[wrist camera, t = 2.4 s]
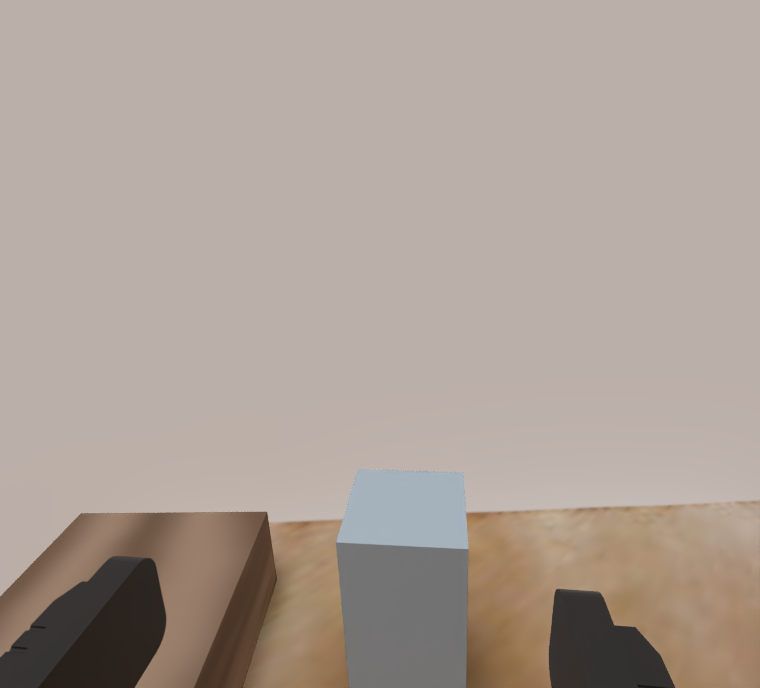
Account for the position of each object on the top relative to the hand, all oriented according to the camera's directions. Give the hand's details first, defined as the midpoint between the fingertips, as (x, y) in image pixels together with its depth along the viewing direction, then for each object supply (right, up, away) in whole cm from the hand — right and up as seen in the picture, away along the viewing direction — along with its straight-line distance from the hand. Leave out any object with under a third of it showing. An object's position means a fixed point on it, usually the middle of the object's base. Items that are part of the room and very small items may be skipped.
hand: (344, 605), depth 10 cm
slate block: (+2, -14, +17) cm, 22 cm away
